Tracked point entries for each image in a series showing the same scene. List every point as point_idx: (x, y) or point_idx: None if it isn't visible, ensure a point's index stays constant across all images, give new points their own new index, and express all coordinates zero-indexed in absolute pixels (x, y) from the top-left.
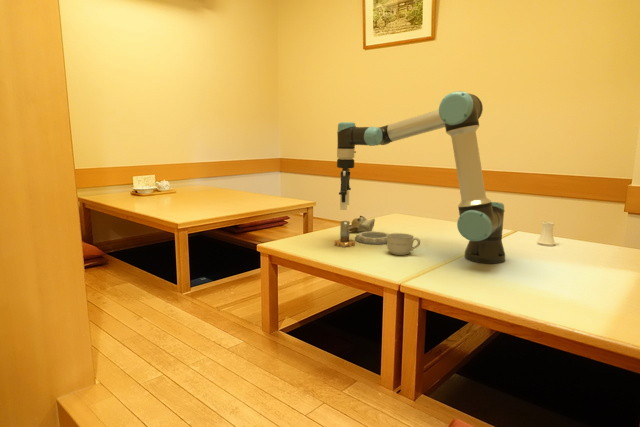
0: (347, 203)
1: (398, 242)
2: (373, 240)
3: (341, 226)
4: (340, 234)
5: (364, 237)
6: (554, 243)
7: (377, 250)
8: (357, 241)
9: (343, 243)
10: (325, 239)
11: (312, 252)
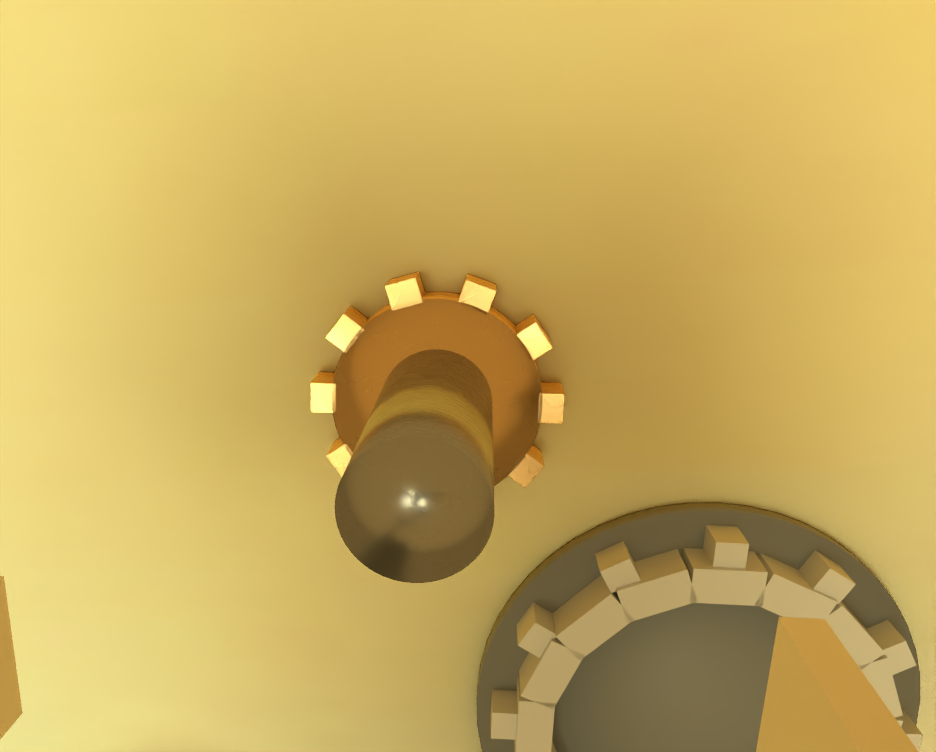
0: (772, 748)
1: None
2: (491, 711)
3: (368, 429)
4: (411, 376)
5: (564, 633)
6: None
7: (249, 708)
8: (593, 530)
9: (331, 391)
10: (702, 131)
11: (14, 22)
